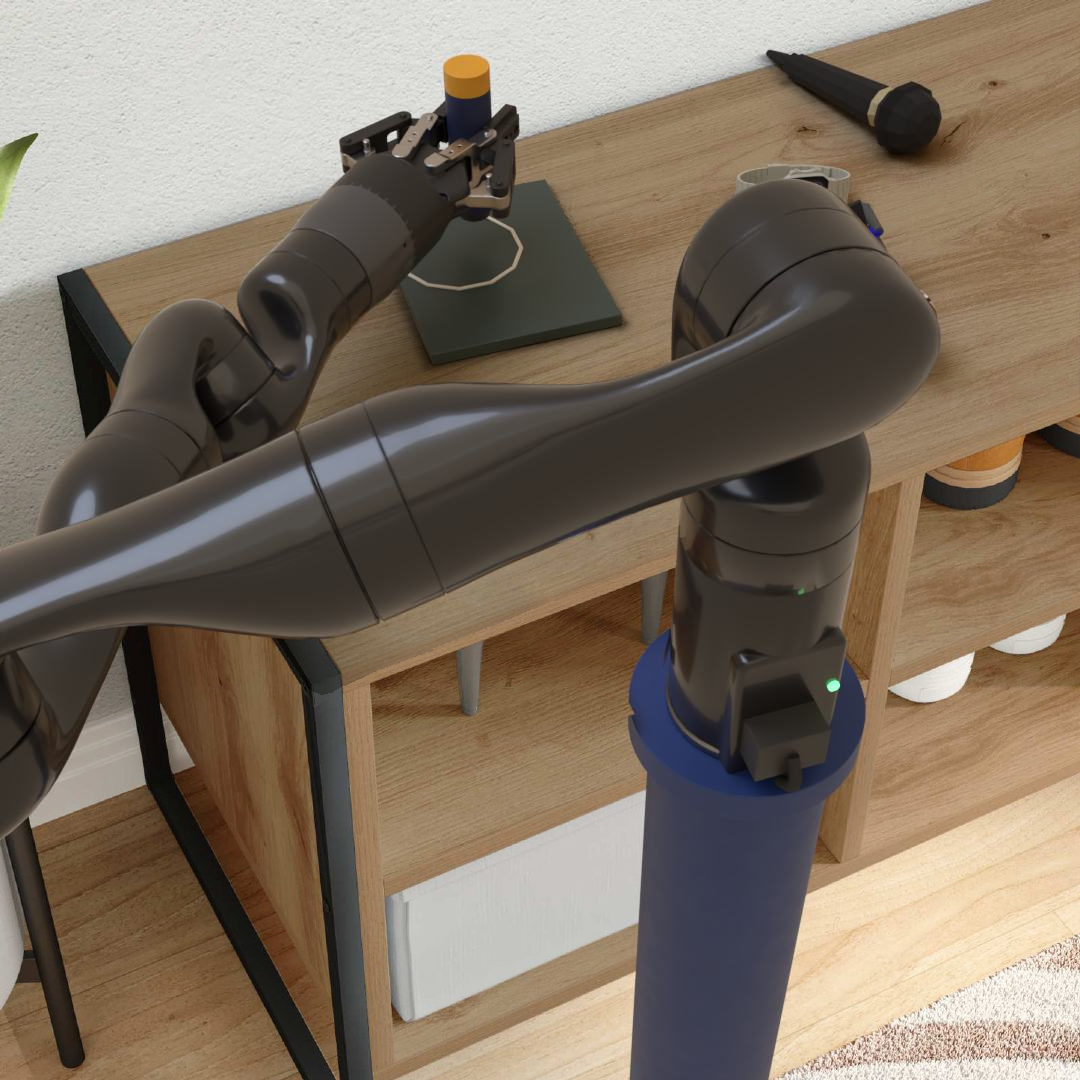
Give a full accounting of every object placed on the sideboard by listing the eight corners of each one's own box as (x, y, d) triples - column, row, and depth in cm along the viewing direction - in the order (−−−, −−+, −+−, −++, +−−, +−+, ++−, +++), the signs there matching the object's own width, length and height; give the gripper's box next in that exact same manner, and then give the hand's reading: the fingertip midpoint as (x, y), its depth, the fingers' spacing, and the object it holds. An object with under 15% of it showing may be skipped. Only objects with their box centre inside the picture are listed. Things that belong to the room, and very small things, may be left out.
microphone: (753, 97, 139) (910, 178, 126) (736, 43, 135) (898, 121, 122) (799, 61, 140) (960, 138, 127) (784, 7, 136) (950, 80, 122)
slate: (621, 325, 113) (621, 313, 112) (432, 365, 110) (431, 353, 109) (545, 189, 125) (545, 177, 124) (373, 222, 122) (371, 211, 121)
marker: (501, 221, 116) (494, 73, 107) (459, 228, 115) (449, 81, 107) (489, 197, 118) (482, 51, 110) (448, 205, 118) (437, 58, 109)
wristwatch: (746, 244, 119) (751, 188, 116) (720, 197, 124) (724, 142, 120) (860, 225, 121) (868, 169, 117) (830, 180, 125) (838, 125, 121)
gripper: (453, 217, 98) (576, 85, 109) (265, 162, 103) (401, 40, 113) (460, 312, 104) (577, 178, 114) (281, 256, 108) (409, 132, 119)
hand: (488, 110), depth 113 cm, fingers closed on marker, 3 cm apart
